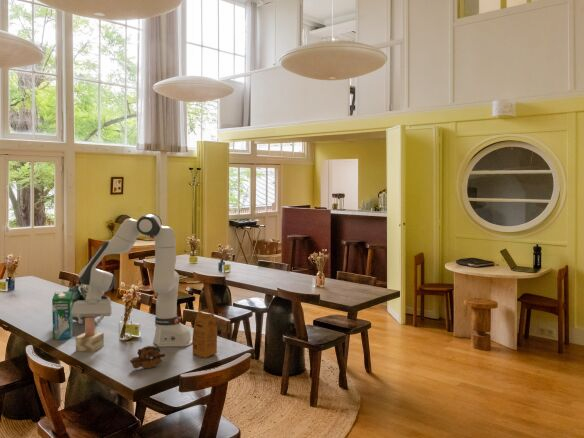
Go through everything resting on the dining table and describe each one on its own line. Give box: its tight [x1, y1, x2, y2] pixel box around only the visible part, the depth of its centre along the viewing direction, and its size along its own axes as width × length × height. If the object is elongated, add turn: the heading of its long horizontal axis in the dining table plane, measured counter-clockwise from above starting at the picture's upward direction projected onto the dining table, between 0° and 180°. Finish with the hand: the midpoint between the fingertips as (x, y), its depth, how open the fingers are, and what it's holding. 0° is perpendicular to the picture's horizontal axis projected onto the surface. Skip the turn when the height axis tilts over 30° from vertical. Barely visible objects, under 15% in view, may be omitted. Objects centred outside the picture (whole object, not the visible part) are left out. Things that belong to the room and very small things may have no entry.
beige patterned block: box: [75, 331, 105, 353], centre depth 264 cm, size 10×10×7 cm
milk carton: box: [51, 291, 74, 340], centre depth 282 cm, size 9×9×25 cm
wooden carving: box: [129, 345, 166, 369], centre depth 238 cm, size 16×5×10 cm, turn 126°
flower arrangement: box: [66, 284, 99, 325], centre depth 311 cm, size 25×25×24 cm
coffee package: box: [191, 310, 218, 359], centre depth 257 cm, size 10×12×22 cm
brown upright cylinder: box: [84, 317, 96, 336], centre depth 264 cm, size 5×5×9 cm
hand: (89, 322), depth 263 cm, fingers open, 8 cm apart
